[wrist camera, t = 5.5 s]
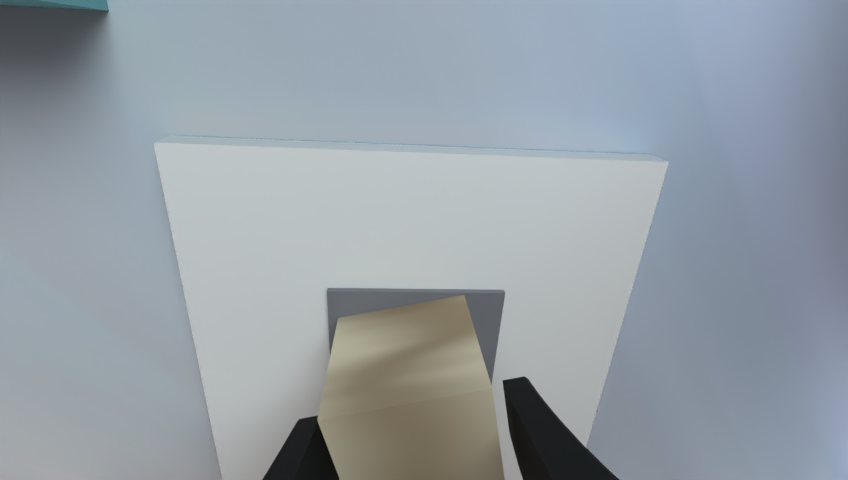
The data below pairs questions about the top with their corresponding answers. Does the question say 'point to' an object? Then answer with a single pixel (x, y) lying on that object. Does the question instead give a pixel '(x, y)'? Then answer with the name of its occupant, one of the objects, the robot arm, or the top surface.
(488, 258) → the baseplate
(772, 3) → the top surface
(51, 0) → the teal brick
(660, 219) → the top surface
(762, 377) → the top surface
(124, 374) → the top surface
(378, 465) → the birch brick
